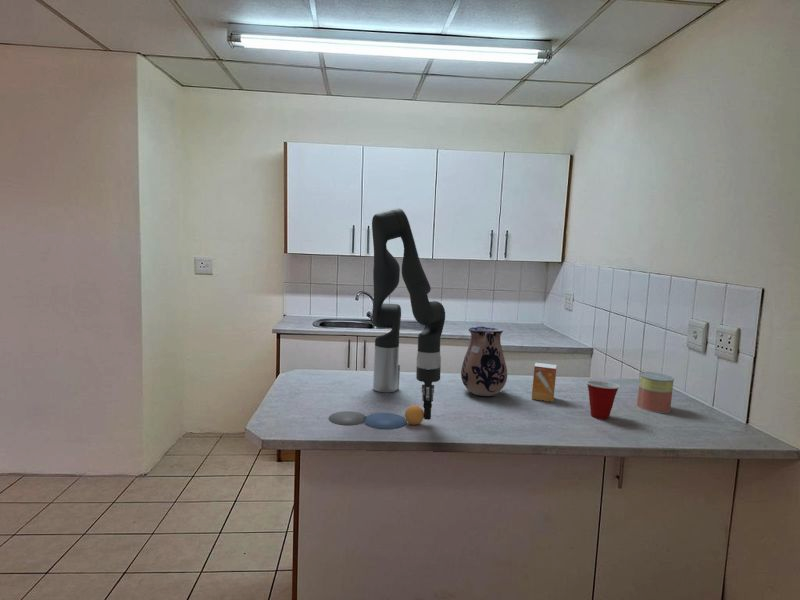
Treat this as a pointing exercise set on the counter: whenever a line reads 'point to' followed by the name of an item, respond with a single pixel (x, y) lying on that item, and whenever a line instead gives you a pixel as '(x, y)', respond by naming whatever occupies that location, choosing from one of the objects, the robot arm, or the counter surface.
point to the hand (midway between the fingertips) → (427, 418)
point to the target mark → (385, 420)
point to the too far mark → (347, 418)
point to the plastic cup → (601, 398)
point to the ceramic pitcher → (484, 362)
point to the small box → (544, 382)
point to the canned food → (655, 392)
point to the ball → (414, 415)
